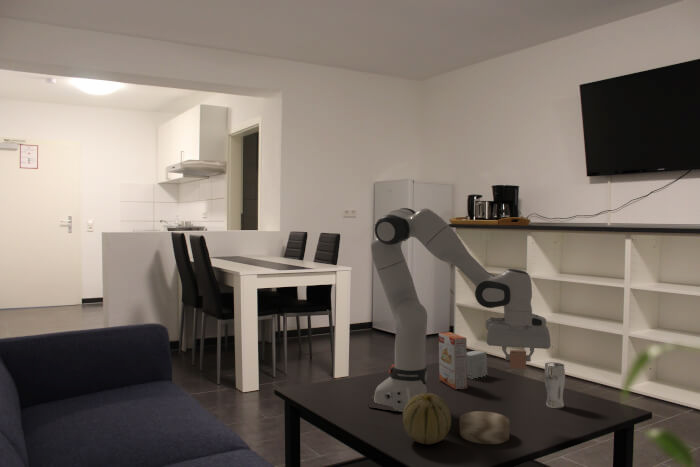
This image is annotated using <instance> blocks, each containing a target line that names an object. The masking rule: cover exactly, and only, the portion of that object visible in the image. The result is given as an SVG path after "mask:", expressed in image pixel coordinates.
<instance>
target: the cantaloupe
mask: <svg viewBox="0 0 700 467" xmlns="http://www.w3.org/2000/svg"><path fill="white" fill-rule="evenodd" d="M402 424H403V426H404V430H405V432H406V434H407V435H408V436H409V438H411V440H413V441H415V442H416V443H419V444H422V445H434V444H436V443H440V442H442V440H444V438H446V436H448V434H449V431H450V429H451V426H452V416H451V410H450V407H449V406H448V404H447V402H446V401H445V400H444V399H443V398H442V397H441V396H439V395H437V394H435V393H432V392H427V393H421V394H418V395H416V396H414V397H412V398H411V399H410V400H409V402H408V403H407V404H406V406H405V408H404V412H403V413H402Z"/></svg>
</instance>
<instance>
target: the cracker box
mask: <svg viewBox="0 0 700 467" xmlns="http://www.w3.org/2000/svg"><path fill="white" fill-rule="evenodd" d="M467 347H468V346H467V337H465V336H463V335H459V334H457V333H453V332H451V331H448V332H446V331H445V332H439V333H438V364H439V365H438V368H439V370H438V371H439V373H438V374H439V381H440V380H441V381H443V382H444V383H446V384H447V385H449V386H451V387H452V388H454V389H460V390H465V389H464V388H467V389H468V379H467V352H468V351H467ZM444 383H443V384H444ZM447 385H446V386H447ZM449 386H448V387H449ZM451 387H450V388H451ZM452 388H451V389H452ZM454 389H453V390H454Z"/></svg>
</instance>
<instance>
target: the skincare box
mask: <svg viewBox="0 0 700 467" xmlns="http://www.w3.org/2000/svg"><path fill="white" fill-rule="evenodd" d="M487 357H488V356H487V351H482V350H472V351H471V350H470V351H467V377H468V378H471V379H473V378H477V379H479V378H478V377H481V378H484V377H487V376H488V363H487V362H488V361H487V360H488V358H487ZM486 375H487V376H486ZM483 376H484V377H483ZM471 379H470V380H471Z"/></svg>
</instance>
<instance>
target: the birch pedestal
mask: <svg viewBox="0 0 700 467" xmlns="http://www.w3.org/2000/svg"><path fill="white" fill-rule="evenodd" d="M459 436H460V437H461V438H463V440H465V441H468V442H471V443H474V444H482V445H499V444H503V443H506V442H508V441H509V440H510V419H509V418H508V417H507V416H505V415H503V414H500V413H497V412H494V411H493V412H492V411H485V410H483V411H482V410H480V411H479V410H478V411H475V410H474V411H468V412H465V413H462V414H461V415H460V416H459Z"/></svg>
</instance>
